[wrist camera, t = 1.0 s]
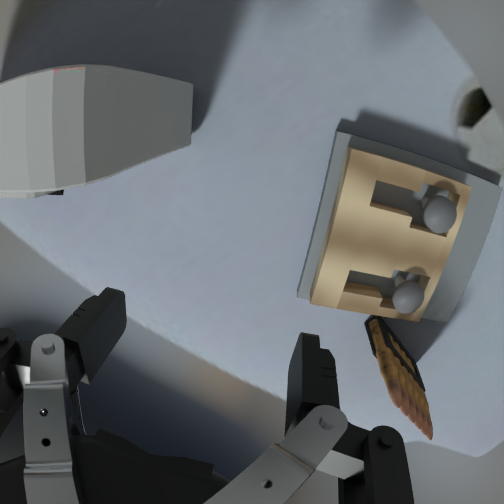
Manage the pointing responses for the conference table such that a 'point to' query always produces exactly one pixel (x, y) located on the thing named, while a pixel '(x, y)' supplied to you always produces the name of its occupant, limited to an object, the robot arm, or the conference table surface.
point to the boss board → (422, 212)
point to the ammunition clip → (400, 374)
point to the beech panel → (381, 236)
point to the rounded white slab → (86, 125)
